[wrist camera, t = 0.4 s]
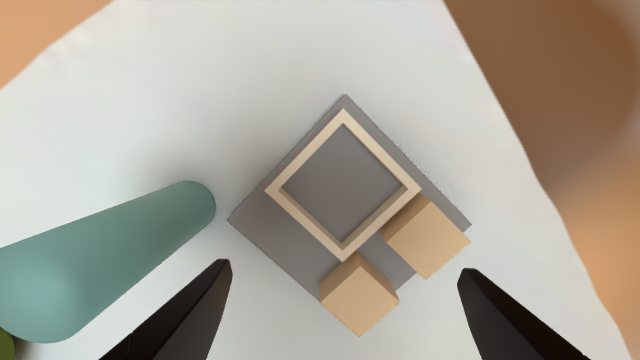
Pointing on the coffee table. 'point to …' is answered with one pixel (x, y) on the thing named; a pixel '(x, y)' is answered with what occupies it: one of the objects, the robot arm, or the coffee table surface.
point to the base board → (351, 218)
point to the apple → (6, 345)
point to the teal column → (94, 261)
